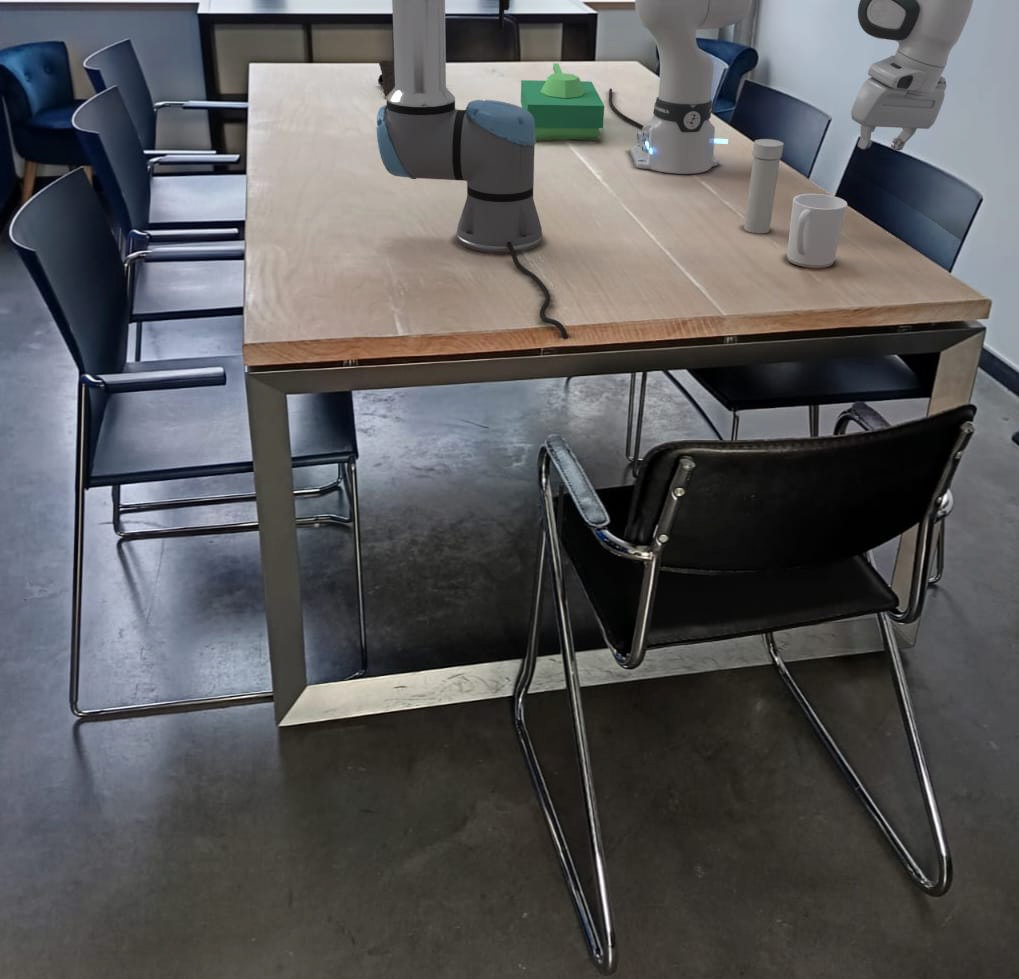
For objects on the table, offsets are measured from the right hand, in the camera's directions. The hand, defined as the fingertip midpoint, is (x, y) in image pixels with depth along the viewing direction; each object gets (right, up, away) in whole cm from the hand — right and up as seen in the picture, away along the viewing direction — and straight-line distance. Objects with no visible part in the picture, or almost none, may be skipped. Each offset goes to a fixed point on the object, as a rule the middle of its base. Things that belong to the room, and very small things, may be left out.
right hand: (879, 148), depth 203 cm
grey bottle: (-22, -15, +2) cm, 27 cm away
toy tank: (-57, +27, +68) cm, 92 cm away
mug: (-17, -24, -13) cm, 32 cm away
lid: (-22, -1, -7) cm, 23 cm away
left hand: (-77, +32, +22) cm, 86 cm away
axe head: (-98, +46, +98) cm, 146 cm away
